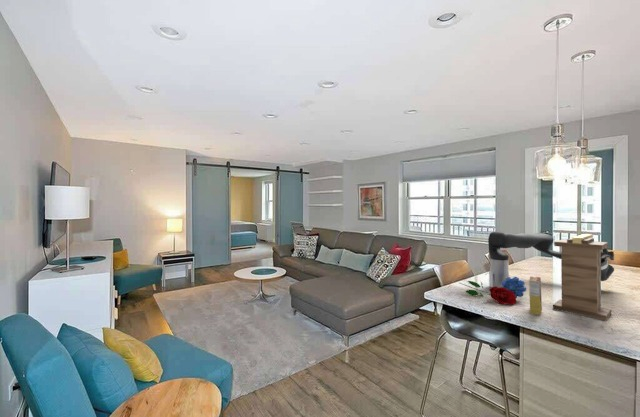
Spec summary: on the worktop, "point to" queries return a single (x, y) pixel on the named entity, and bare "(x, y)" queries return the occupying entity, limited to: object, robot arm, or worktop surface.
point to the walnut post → (581, 278)
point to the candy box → (535, 295)
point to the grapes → (514, 286)
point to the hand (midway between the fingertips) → (592, 248)
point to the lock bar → (581, 238)
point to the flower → (495, 294)
